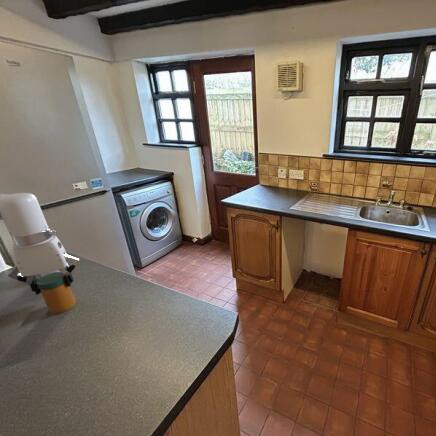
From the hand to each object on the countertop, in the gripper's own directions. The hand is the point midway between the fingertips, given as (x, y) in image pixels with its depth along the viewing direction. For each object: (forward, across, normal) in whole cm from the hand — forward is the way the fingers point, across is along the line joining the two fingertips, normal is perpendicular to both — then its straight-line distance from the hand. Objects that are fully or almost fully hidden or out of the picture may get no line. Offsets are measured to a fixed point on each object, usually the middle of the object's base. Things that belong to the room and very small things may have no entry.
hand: (55, 287), depth 75 cm
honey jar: (+8, 0, 0) cm, 8 cm away
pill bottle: (+8, +6, -24) cm, 26 cm away
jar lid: (-3, 0, 0) cm, 3 cm away
